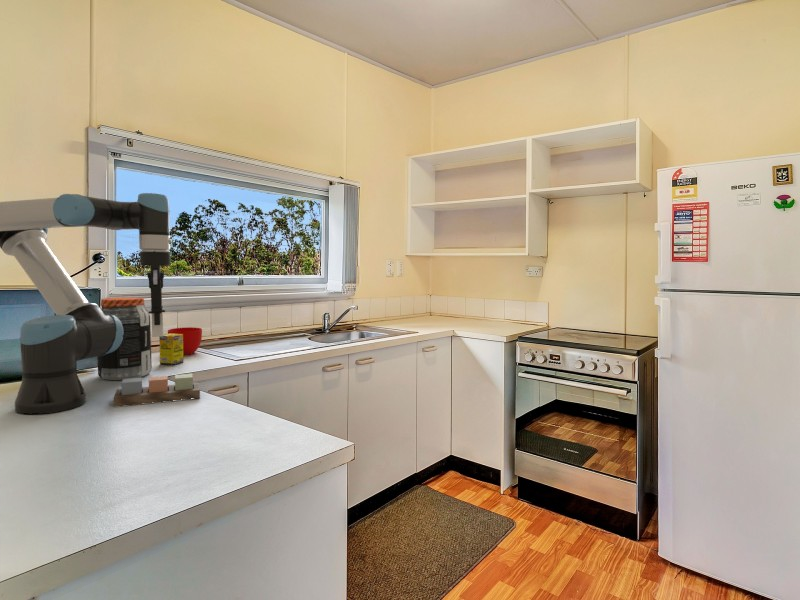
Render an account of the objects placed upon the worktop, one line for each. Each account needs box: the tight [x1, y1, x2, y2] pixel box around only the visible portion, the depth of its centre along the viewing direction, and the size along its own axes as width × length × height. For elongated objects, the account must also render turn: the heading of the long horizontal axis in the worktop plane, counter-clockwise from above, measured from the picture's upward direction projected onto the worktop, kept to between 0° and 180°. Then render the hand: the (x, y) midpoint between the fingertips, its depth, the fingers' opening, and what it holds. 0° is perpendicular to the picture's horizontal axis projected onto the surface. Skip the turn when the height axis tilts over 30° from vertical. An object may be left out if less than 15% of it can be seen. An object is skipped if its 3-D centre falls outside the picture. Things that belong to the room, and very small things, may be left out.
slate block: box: [120, 377, 143, 395], centre depth 133 cm, size 5×5×4 cm
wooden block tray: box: [113, 382, 201, 407], centre depth 136 cm, size 21×9×2 cm, turn 114°
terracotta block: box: [148, 375, 169, 393], centre depth 136 cm, size 5×5×4 cm
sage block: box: [174, 373, 194, 390], centre depth 138 cm, size 5×5×4 cm
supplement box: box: [158, 333, 184, 366], centre depth 181 cm, size 6×6×11 cm
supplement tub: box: [97, 297, 153, 381], centre depth 161 cm, size 16×16×26 cm
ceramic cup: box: [167, 326, 203, 356], centre depth 199 cm, size 13×17×10 cm
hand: (157, 336), depth 135 cm, fingers closed
